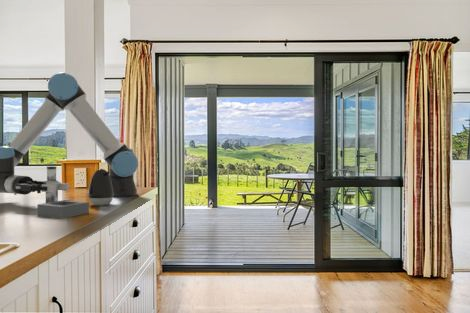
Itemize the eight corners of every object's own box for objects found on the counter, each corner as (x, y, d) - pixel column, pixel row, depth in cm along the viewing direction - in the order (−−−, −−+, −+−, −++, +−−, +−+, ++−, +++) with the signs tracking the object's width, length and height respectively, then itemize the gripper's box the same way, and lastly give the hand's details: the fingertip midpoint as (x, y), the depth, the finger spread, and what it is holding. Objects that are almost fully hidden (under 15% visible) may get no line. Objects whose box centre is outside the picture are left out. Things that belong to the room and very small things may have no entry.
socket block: (65, 210, 144) (65, 199, 144) (88, 212, 139) (88, 202, 139) (37, 215, 133) (37, 204, 133) (62, 218, 128) (62, 207, 128)
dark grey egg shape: (97, 207, 150) (97, 170, 150) (83, 205, 157) (83, 168, 156) (119, 204, 159) (119, 168, 158) (104, 202, 165) (104, 167, 164)
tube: (52, 207, 150) (52, 166, 149) (60, 208, 148) (60, 166, 148) (43, 209, 146) (42, 166, 145) (51, 210, 144) (50, 167, 144)
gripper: (40, 191, 162) (80, 194, 153) (-3, 196, 145) (40, 201, 136) (39, 174, 162) (80, 176, 153) (-3, 177, 145) (40, 180, 136)
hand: (61, 188), depth 145 cm, fingers open, 6 cm apart
